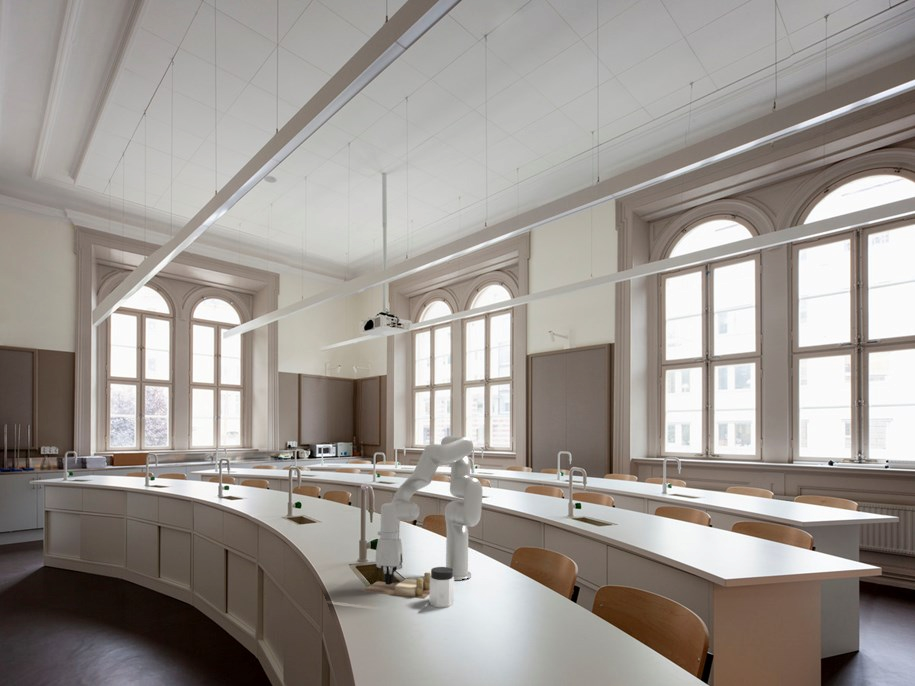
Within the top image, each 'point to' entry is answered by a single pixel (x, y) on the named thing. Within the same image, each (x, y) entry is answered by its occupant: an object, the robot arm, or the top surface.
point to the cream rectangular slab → (407, 587)
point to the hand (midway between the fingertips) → (389, 583)
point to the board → (390, 589)
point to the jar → (441, 587)
